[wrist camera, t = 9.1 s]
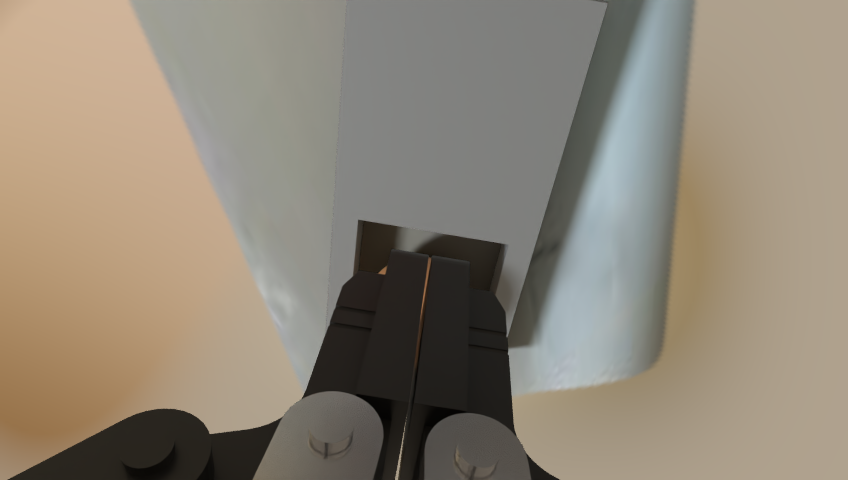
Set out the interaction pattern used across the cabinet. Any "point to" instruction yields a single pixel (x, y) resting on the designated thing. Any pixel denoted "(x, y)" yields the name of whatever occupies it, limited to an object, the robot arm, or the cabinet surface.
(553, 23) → the board
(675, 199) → the cabinet surface
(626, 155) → the cabinet surface
